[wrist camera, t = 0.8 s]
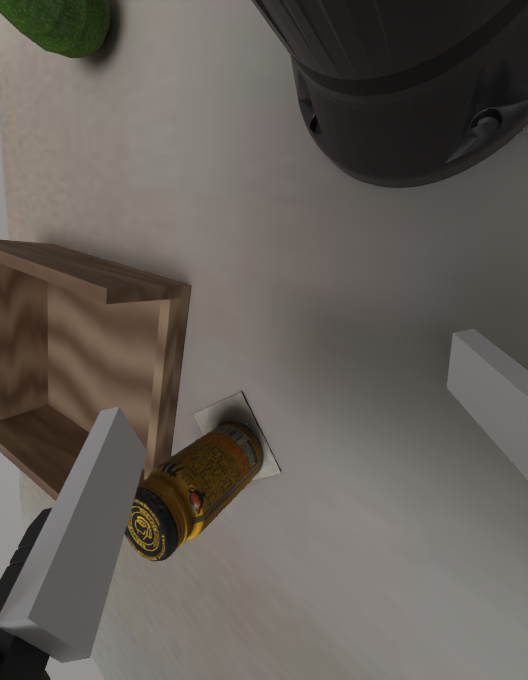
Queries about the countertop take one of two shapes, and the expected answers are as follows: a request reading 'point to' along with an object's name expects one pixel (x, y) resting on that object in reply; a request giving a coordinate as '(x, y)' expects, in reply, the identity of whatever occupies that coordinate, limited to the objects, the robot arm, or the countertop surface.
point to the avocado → (61, 23)
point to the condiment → (199, 480)
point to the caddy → (84, 356)
